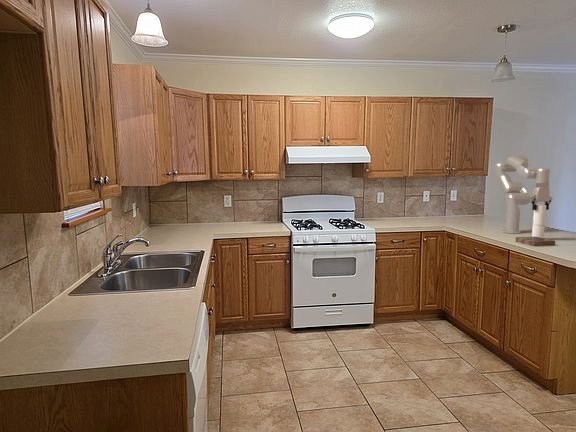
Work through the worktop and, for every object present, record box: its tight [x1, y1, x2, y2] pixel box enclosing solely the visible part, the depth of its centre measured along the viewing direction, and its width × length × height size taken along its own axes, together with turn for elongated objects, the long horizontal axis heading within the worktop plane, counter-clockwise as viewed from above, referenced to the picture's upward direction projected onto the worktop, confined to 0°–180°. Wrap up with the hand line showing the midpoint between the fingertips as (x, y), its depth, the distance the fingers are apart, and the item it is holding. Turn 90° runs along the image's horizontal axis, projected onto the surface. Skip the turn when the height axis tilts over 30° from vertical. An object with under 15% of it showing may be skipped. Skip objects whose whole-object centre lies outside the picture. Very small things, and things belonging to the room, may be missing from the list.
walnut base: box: [515, 236, 556, 247], centre depth 254 cm, size 16×16×4 cm
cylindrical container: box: [531, 203, 547, 238], centre depth 267 cm, size 7×7×25 cm
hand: (540, 209), depth 265 cm, fingers open, 9 cm apart
